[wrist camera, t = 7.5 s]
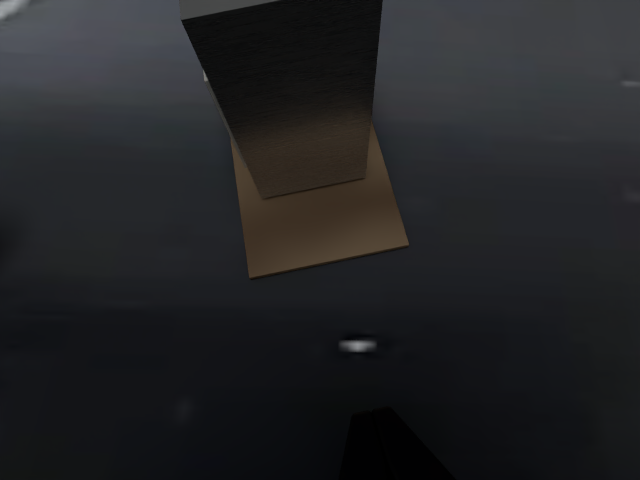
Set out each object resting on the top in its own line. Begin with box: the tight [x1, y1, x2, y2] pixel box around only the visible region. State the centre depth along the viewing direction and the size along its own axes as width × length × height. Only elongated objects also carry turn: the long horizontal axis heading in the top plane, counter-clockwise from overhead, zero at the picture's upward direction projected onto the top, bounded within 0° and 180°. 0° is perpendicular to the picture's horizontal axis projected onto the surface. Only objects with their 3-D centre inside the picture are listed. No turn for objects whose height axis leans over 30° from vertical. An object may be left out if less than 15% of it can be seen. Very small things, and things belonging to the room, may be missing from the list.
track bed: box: [230, 120, 409, 280], centre depth 20 cm, size 18×7×1 cm, turn 11°
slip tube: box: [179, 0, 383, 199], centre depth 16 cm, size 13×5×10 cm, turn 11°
